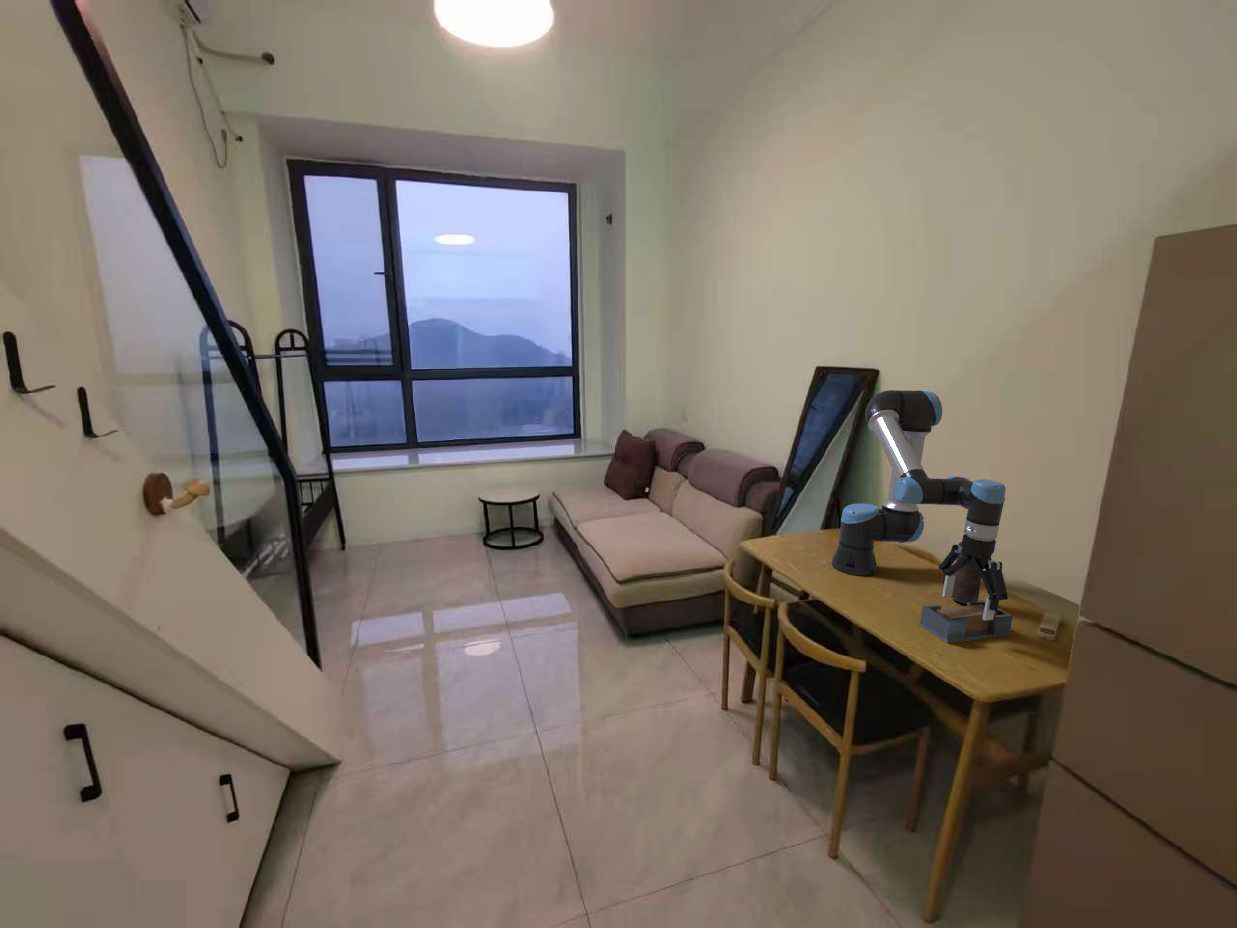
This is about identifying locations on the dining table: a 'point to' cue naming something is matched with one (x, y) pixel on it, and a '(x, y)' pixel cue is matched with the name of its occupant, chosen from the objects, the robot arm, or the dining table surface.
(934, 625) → the bracket plate
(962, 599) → the candle
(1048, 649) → the dining table surface
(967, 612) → the rail bar
